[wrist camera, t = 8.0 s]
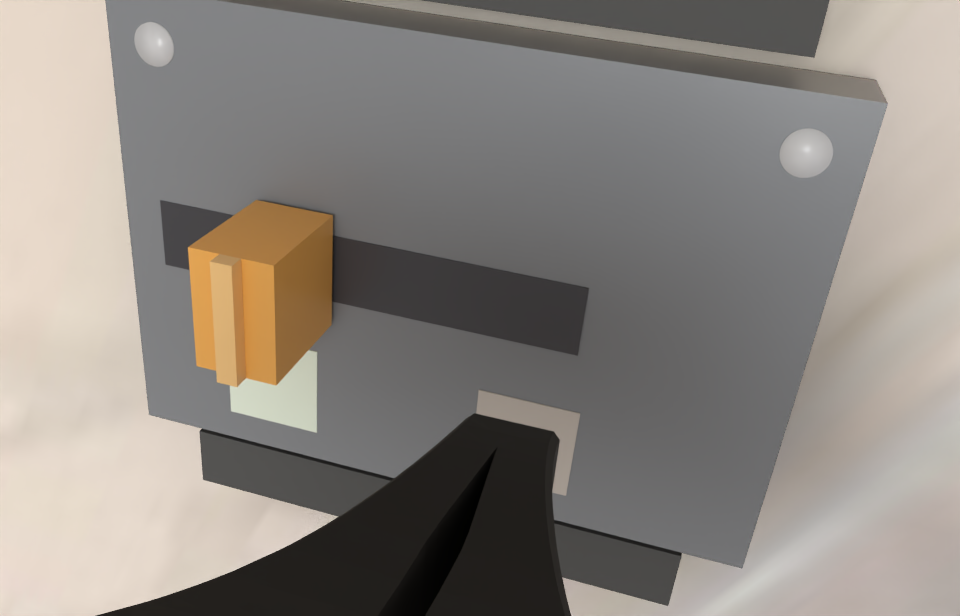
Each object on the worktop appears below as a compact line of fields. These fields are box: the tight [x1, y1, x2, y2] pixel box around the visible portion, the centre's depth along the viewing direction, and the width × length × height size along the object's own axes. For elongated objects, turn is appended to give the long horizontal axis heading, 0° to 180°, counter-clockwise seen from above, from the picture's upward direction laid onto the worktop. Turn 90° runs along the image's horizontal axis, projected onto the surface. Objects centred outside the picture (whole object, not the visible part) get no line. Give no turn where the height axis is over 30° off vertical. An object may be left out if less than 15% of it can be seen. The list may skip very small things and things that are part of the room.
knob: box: [188, 200, 333, 387], centre depth 21 cm, size 3×2×3 cm, turn 174°
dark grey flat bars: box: [200, 0, 829, 606], centre depth 22 cm, size 16×14×2 cm
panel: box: [105, 0, 888, 568], centre depth 22 cm, size 12×17×2 cm
